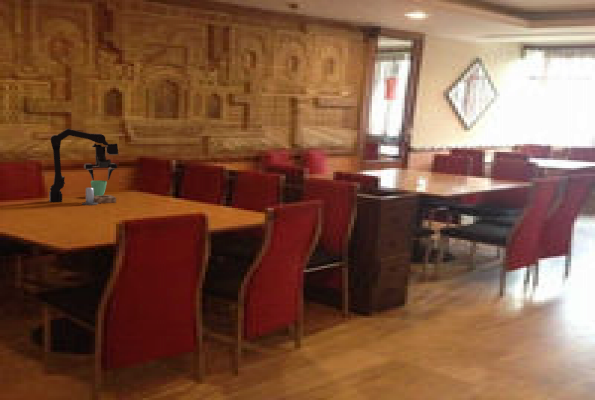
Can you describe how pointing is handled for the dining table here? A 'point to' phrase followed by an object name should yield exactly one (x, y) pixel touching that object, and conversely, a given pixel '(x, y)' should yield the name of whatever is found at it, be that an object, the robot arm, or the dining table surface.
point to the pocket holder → (105, 199)
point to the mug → (98, 187)
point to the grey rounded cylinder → (89, 195)
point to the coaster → (89, 204)
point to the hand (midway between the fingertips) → (100, 180)
